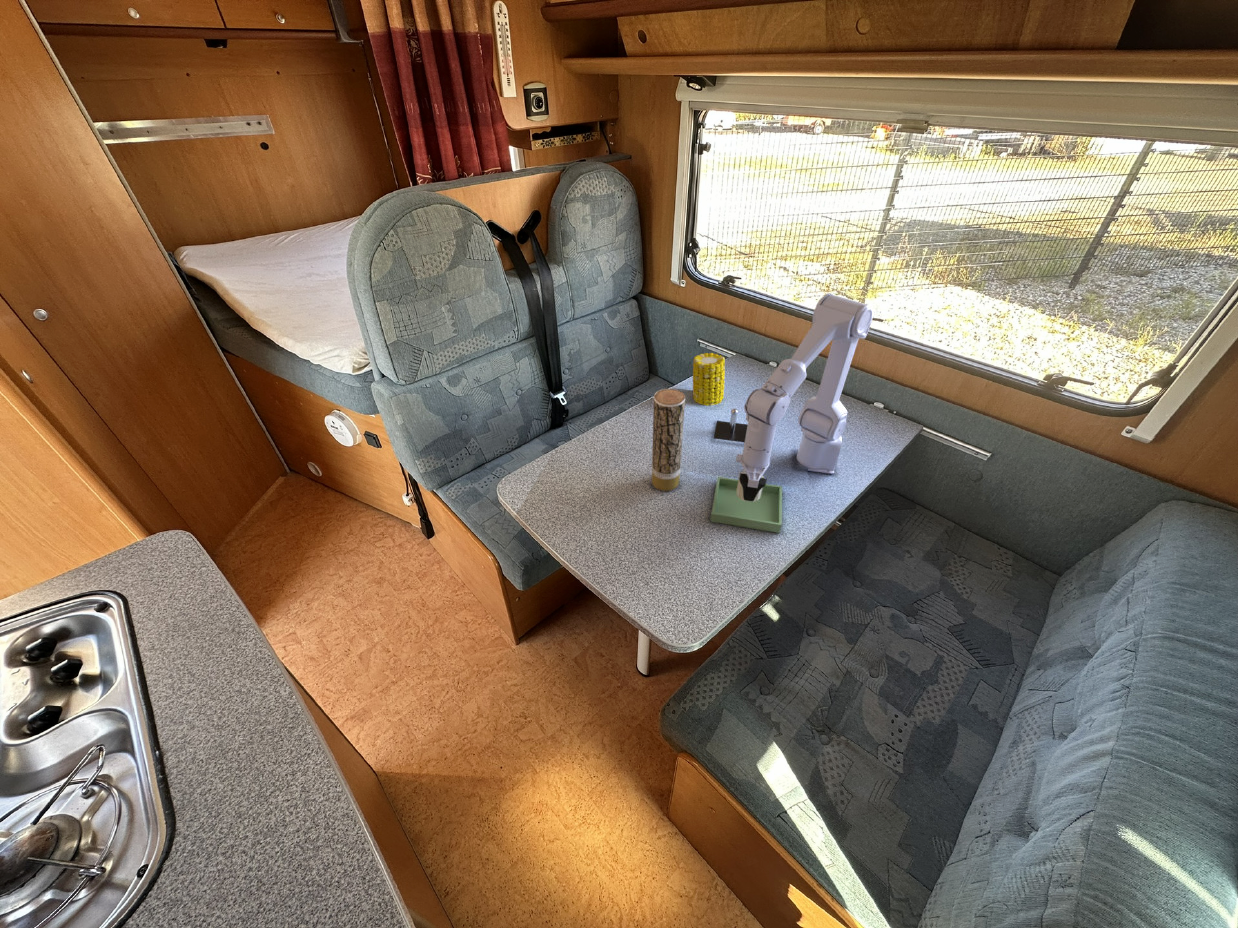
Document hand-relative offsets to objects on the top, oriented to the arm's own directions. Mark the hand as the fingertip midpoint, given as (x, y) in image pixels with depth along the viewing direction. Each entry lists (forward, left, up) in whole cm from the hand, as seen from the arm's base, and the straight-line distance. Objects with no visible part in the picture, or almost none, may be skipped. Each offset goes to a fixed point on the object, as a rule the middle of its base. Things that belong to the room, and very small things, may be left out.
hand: (749, 491), depth 112 cm
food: (+15, -46, -5) cm, 49 cm away
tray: (0, 0, -5) cm, 5 cm away
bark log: (+20, -4, -5) cm, 21 cm away
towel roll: (0, 0, -1) cm, 1 cm away
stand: (+6, -29, -5) cm, 30 cm away
